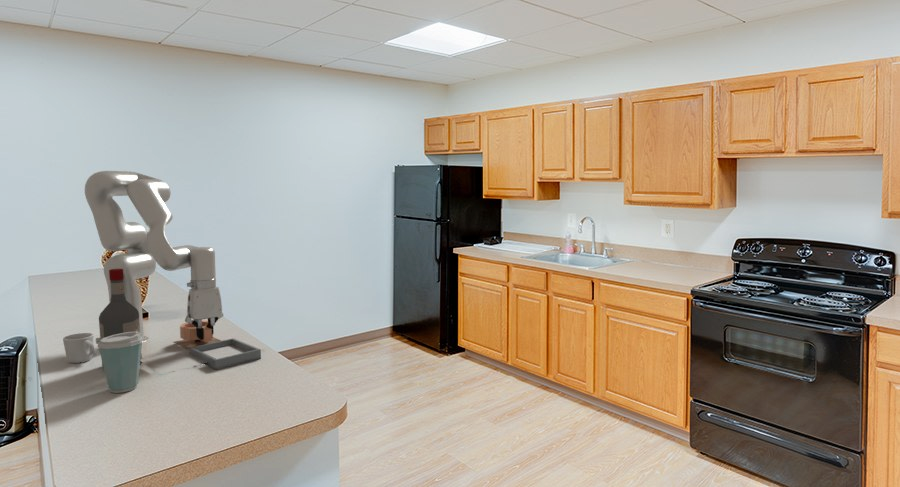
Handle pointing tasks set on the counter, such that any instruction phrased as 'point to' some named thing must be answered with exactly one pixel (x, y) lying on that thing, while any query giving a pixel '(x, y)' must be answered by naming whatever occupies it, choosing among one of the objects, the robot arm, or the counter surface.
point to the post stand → (194, 342)
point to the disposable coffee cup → (121, 360)
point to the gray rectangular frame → (230, 360)
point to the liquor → (118, 310)
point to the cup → (79, 347)
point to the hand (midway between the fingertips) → (205, 337)
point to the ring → (190, 332)
